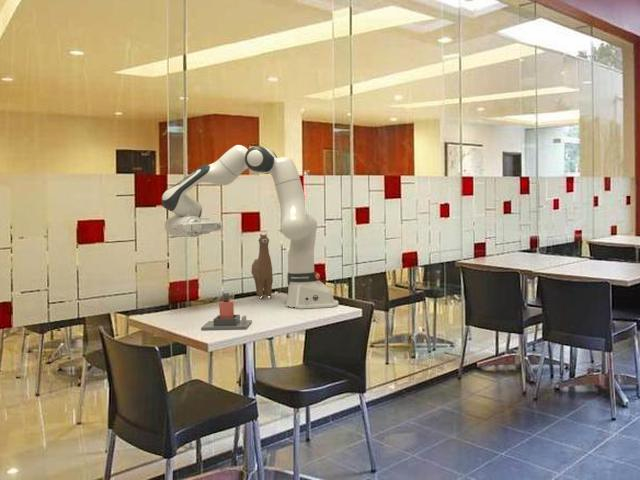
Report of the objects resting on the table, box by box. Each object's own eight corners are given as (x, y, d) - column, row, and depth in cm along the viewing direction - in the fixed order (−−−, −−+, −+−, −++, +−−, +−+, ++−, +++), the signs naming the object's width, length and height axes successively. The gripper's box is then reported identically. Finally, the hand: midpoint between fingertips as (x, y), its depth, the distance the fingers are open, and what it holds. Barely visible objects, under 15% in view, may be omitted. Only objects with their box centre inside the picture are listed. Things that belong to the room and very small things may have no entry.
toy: (257, 301, 277) (255, 234, 275) (251, 295, 297) (249, 233, 295) (276, 299, 279) (274, 234, 277) (270, 293, 299) (267, 232, 297)
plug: (227, 322, 224) (226, 292, 223) (234, 323, 222) (233, 293, 221) (220, 324, 221) (218, 293, 221) (226, 325, 219) (225, 294, 218)
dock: (251, 322, 227) (251, 313, 227) (246, 329, 215) (246, 319, 215) (209, 323, 228) (208, 314, 228) (201, 330, 216) (200, 320, 216)
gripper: (170, 220, 253) (189, 220, 243) (210, 218, 268) (230, 218, 258) (170, 235, 253) (190, 236, 244) (211, 232, 268) (231, 233, 259)
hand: (211, 226), depth 251 cm, fingers open, 8 cm apart
